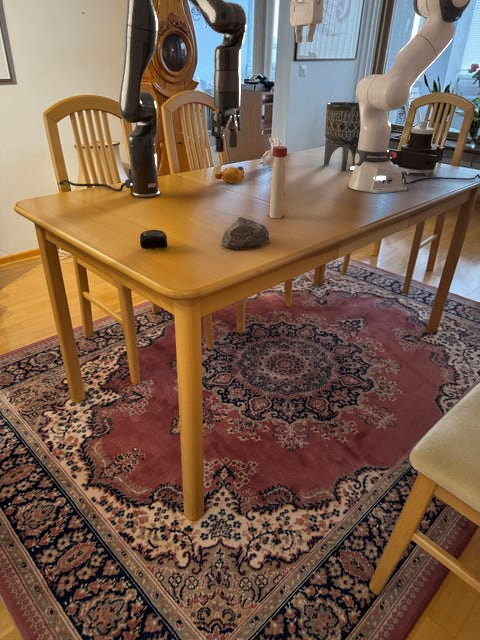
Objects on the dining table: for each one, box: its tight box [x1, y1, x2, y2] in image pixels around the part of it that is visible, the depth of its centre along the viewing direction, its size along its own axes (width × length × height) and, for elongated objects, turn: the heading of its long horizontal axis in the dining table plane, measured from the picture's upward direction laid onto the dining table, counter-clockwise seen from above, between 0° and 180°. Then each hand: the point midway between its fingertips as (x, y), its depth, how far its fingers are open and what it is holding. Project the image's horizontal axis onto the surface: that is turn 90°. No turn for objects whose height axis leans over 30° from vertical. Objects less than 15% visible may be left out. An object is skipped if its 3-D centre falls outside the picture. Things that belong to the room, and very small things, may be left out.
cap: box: [273, 145, 288, 158], centre depth 134 cm, size 4×4×2 cm
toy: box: [214, 165, 246, 184], centre depth 181 cm, size 11×6×15 cm
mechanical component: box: [388, 120, 446, 176], centre depth 202 cm, size 22×21×30 cm
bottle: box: [269, 157, 287, 219], centre depth 138 cm, size 4×4×20 cm
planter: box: [323, 101, 360, 172], centre depth 204 cm, size 20×20×26 cm
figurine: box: [258, 136, 282, 169], centre depth 203 cm, size 8×15×13 cm, turn 146°
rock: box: [221, 216, 270, 250], centre depth 119 cm, size 13×9×6 cm, turn 131°
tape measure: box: [139, 229, 168, 250], centre depth 117 cm, size 7×7×4 cm
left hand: (226, 149), depth 135 cm, fingers open, 8 cm apart
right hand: (304, 42), depth 147 cm, fingers open, 8 cm apart
